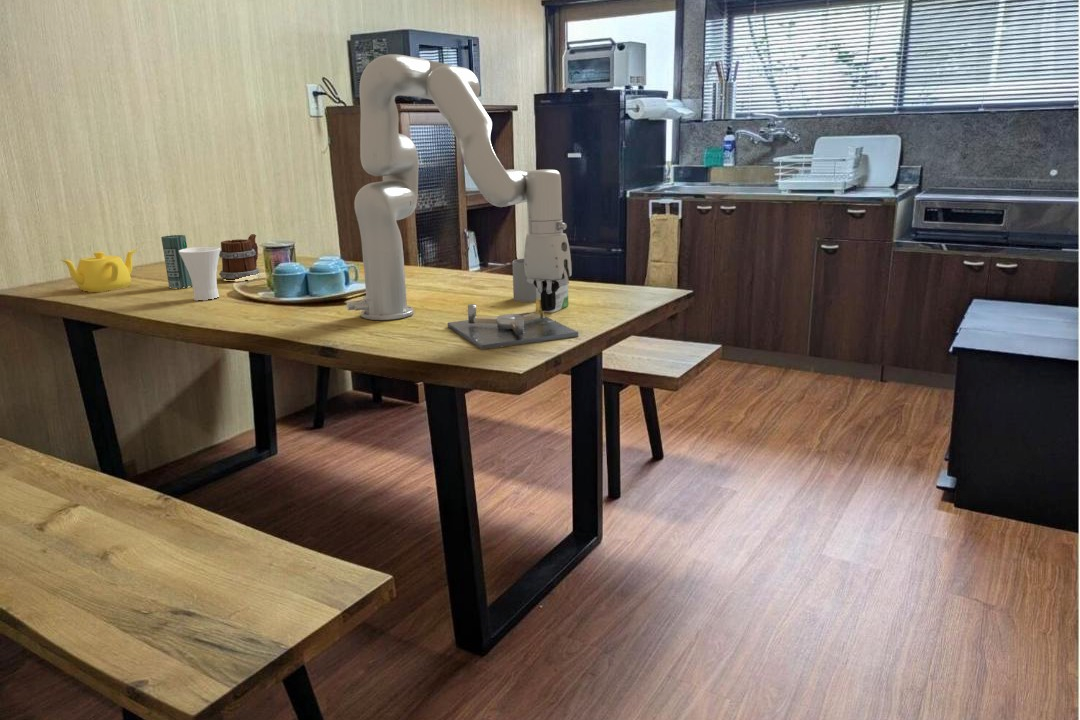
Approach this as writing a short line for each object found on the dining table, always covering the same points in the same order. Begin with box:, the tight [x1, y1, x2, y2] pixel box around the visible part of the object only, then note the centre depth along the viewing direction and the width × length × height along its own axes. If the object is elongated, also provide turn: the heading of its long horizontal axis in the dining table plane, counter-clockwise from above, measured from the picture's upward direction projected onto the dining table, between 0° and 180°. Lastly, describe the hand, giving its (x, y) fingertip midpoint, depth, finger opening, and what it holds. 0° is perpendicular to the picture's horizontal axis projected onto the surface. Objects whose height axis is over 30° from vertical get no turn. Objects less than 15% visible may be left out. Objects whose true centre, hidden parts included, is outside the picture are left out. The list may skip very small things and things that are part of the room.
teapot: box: [60, 249, 137, 293], centre depth 230 cm, size 22×16×11 cm
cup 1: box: [179, 246, 221, 301], centre depth 213 cm, size 10×10×14 cm
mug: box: [218, 233, 261, 280], centre depth 242 cm, size 12×14×15 cm
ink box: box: [536, 280, 569, 314], centre depth 192 cm, size 9×5×12 cm, turn 151°
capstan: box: [467, 298, 545, 335], centre depth 173 cm, size 15×17×5 cm
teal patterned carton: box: [160, 234, 193, 288], centre depth 229 cm, size 6×6×15 cm
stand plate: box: [447, 311, 579, 350], centre depth 173 cm, size 22×22×1 cm
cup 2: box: [512, 258, 536, 303], centre depth 205 cm, size 8×8×10 cm
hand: (548, 309), depth 176 cm, fingers closed
